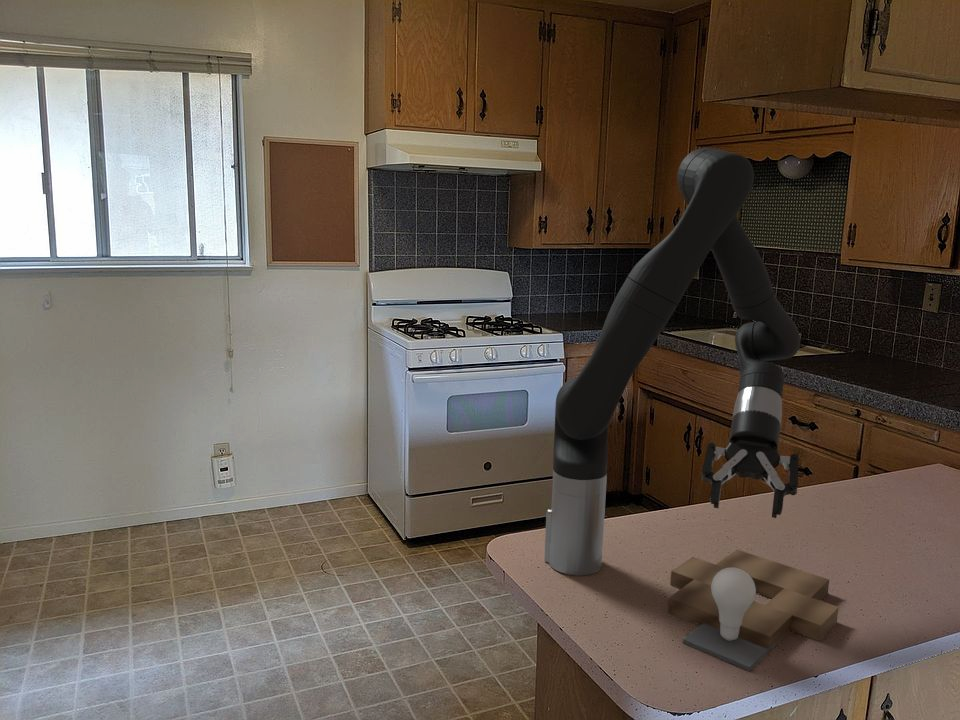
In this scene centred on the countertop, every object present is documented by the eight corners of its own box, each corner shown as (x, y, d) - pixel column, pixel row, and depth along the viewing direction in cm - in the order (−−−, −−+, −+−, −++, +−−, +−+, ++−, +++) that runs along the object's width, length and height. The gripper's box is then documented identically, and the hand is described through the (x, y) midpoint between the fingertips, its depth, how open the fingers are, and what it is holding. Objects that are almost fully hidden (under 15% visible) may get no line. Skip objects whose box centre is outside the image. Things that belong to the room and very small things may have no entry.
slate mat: (682, 642, 113) (683, 639, 113) (711, 619, 119) (711, 616, 119) (749, 671, 106) (749, 667, 106) (775, 645, 113) (775, 641, 113)
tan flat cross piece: (644, 602, 124) (645, 588, 124) (713, 555, 142) (714, 542, 141) (797, 664, 108) (799, 648, 108) (854, 602, 126) (856, 588, 125)
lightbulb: (716, 624, 117) (722, 556, 115) (757, 638, 113) (764, 568, 111) (700, 640, 112) (705, 570, 110) (741, 656, 109) (748, 584, 106)
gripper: (711, 403, 127) (696, 492, 119) (804, 414, 122) (796, 508, 114) (712, 426, 133) (698, 513, 125) (801, 438, 128) (793, 529, 120)
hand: (744, 510), depth 119 cm, fingers open, 8 cm apart
